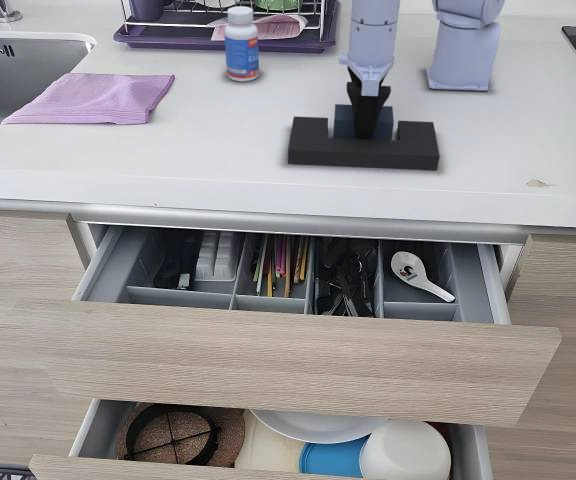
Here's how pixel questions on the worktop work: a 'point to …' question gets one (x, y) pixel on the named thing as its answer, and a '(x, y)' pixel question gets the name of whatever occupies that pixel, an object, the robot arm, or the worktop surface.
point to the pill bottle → (241, 45)
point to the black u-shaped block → (364, 146)
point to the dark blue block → (346, 123)
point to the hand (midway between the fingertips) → (363, 128)
